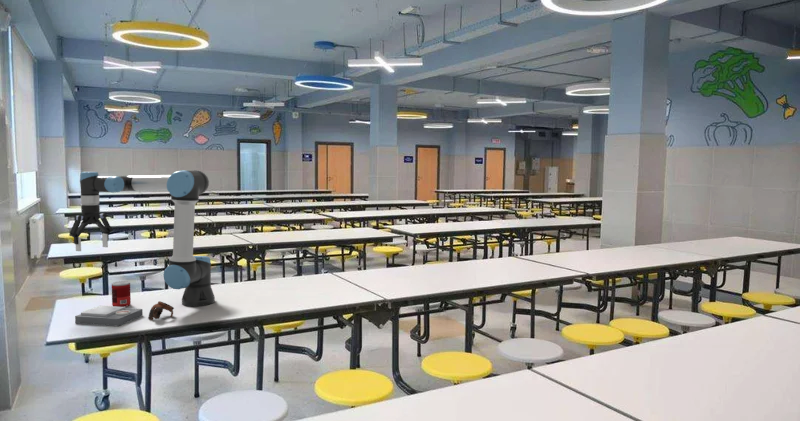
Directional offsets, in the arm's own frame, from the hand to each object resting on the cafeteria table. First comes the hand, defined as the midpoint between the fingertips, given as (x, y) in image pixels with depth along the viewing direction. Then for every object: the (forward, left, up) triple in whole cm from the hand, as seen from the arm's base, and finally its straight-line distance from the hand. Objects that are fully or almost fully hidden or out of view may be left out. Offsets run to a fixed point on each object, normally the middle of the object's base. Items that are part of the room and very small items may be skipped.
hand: (92, 249), depth 254 cm
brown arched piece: (-44, +15, -27) cm, 54 cm away
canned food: (-14, 0, -27) cm, 30 cm away
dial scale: (-24, +21, -27) cm, 42 cm away
